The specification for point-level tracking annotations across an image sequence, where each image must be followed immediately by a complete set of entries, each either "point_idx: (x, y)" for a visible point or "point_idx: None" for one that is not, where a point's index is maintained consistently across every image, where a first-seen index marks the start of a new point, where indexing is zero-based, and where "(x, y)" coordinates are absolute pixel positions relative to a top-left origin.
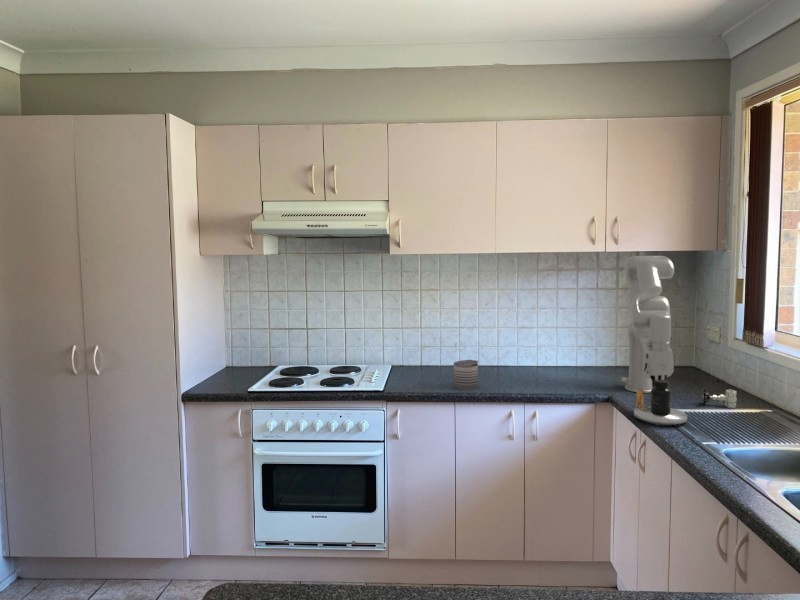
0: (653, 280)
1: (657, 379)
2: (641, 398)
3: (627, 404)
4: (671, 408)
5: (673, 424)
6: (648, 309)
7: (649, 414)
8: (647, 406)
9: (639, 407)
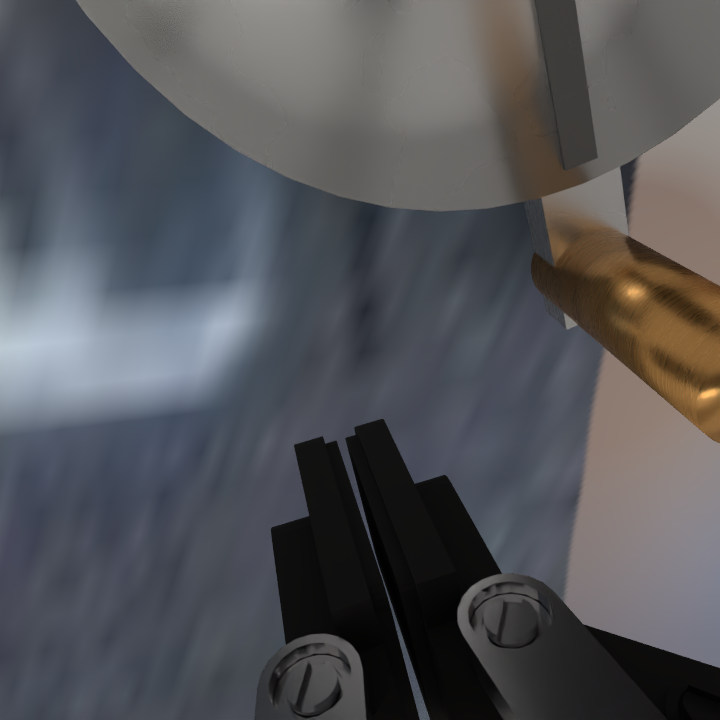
0: None
1: (510, 661)
2: (666, 269)
3: (554, 497)
4: (155, 64)
5: None
6: None
7: None
8: (532, 178)
9: (685, 105)
